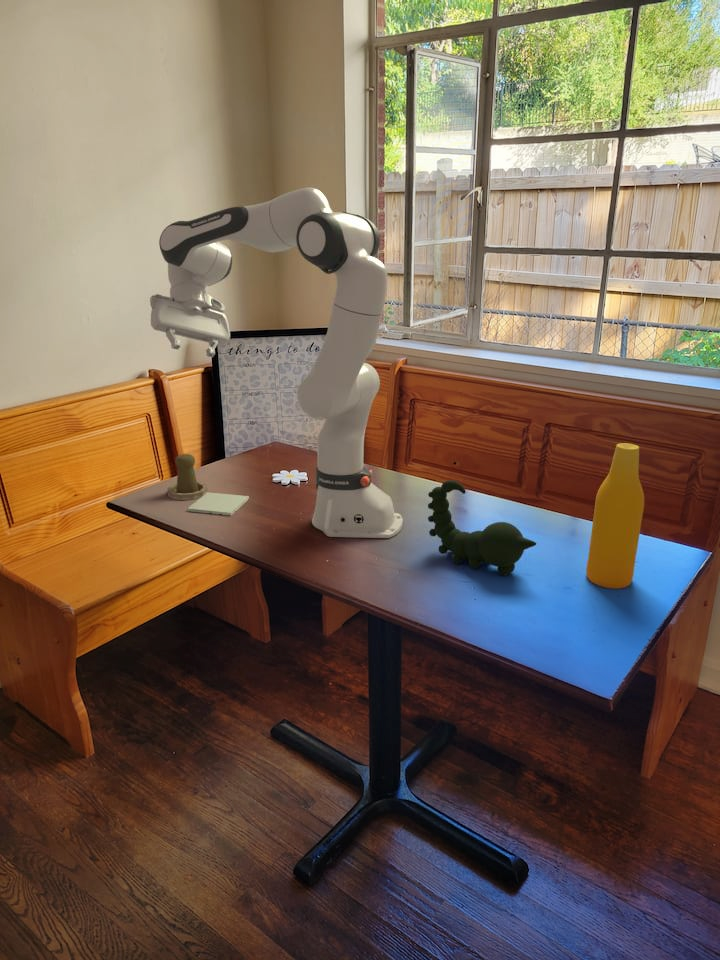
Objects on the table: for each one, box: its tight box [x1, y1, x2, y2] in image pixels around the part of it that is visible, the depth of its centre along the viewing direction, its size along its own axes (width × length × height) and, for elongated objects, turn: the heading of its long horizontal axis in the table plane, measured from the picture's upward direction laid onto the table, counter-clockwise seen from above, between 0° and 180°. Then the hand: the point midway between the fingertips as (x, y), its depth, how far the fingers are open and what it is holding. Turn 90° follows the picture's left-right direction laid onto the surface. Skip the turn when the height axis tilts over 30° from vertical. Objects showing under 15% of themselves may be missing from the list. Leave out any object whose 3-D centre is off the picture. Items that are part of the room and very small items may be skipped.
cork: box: [174, 453, 200, 494], centre depth 187 cm, size 6×6×11 cm
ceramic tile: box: [186, 491, 250, 517], centre depth 181 cm, size 12×12×1 cm
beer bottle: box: [585, 442, 645, 590], centre depth 139 cm, size 9×9×29 cm
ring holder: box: [167, 481, 209, 501], centre depth 189 cm, size 10×10×2 cm
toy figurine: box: [427, 479, 537, 576], centre depth 146 cm, size 9×19×25 cm
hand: (193, 351), depth 168 cm, fingers open, 8 cm apart
